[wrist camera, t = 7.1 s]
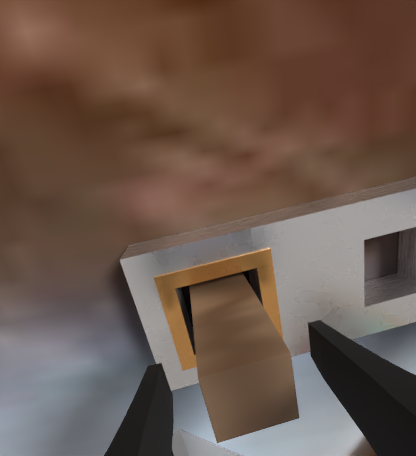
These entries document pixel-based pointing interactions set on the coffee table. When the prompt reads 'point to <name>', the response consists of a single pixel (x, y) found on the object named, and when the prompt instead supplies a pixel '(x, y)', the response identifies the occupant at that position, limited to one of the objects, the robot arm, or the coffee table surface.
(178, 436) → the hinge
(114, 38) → the coffee table surface
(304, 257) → the peg-in-hole board
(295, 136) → the coffee table surface
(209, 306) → the walnut peg
